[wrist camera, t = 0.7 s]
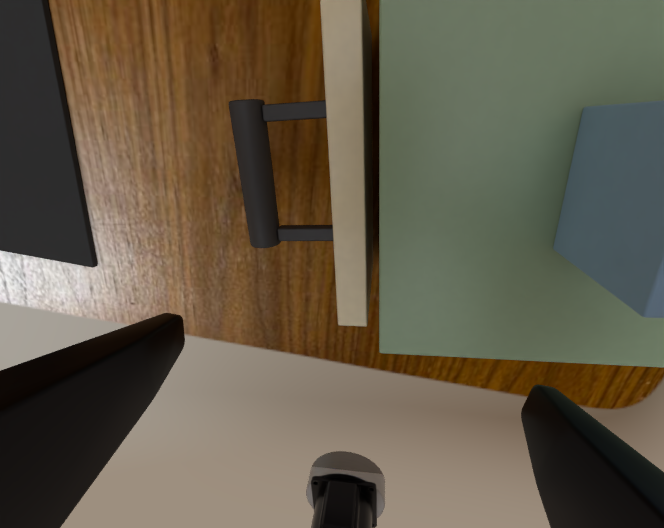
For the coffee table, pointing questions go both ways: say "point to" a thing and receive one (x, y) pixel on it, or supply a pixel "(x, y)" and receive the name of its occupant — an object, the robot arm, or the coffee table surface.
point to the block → (618, 203)
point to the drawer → (344, 157)
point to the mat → (38, 144)
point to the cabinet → (501, 174)
